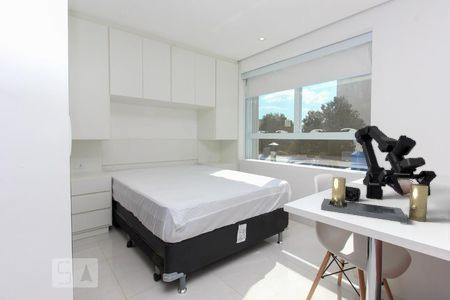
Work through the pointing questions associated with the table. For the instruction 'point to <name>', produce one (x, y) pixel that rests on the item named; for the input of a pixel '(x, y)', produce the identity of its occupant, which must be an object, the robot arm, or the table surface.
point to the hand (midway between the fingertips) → (415, 194)
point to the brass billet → (418, 202)
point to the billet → (338, 191)
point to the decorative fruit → (405, 185)
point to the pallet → (366, 210)
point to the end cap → (352, 194)
